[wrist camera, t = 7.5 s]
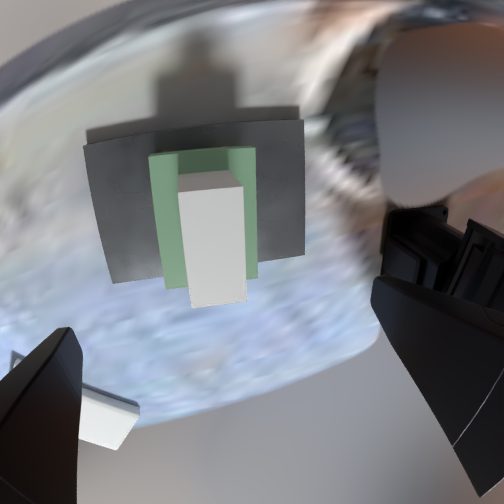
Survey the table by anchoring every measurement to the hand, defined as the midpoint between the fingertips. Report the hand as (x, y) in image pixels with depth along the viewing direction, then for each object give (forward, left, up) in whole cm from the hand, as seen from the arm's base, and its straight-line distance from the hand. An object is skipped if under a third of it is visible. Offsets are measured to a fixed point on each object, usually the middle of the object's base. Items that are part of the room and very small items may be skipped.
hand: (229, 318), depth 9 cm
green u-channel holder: (0, 0, -9) cm, 9 cm away
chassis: (0, 0, -12) cm, 12 cm away
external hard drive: (+16, +18, -13) cm, 27 cm away
